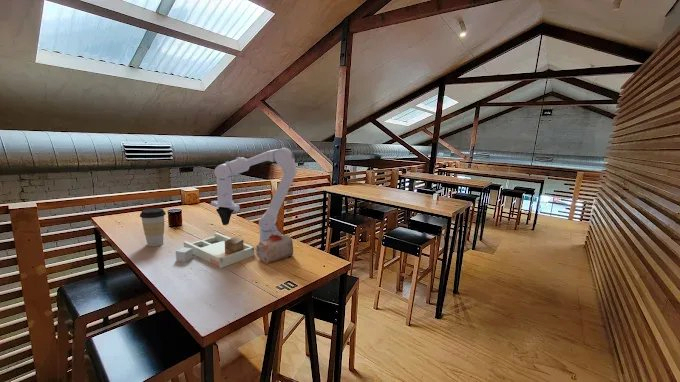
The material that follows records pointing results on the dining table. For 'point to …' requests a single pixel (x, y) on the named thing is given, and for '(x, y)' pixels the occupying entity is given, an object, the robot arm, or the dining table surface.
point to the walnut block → (233, 245)
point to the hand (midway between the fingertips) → (225, 224)
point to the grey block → (184, 254)
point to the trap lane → (218, 251)
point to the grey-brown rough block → (274, 248)
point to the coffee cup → (153, 225)
